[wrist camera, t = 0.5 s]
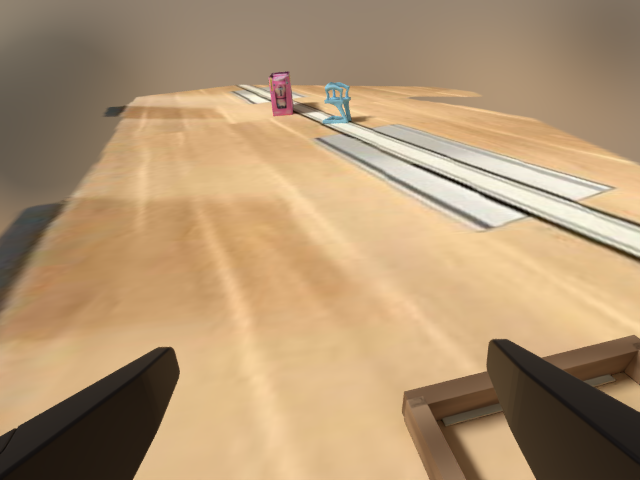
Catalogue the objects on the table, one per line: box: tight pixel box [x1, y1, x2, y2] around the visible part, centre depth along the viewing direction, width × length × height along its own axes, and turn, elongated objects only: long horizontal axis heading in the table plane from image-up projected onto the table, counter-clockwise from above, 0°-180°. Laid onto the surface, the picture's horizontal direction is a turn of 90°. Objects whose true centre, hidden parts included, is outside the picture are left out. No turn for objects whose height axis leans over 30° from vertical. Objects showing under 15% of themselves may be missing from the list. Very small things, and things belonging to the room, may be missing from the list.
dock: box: [402, 335, 640, 480], centre depth 21 cm, size 8×19×2 cm, turn 102°
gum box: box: [269, 72, 293, 116], centre depth 129 cm, size 24×8×14 cm, turn 4°
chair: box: [323, 82, 351, 124], centre depth 105 cm, size 8×8×12 cm
